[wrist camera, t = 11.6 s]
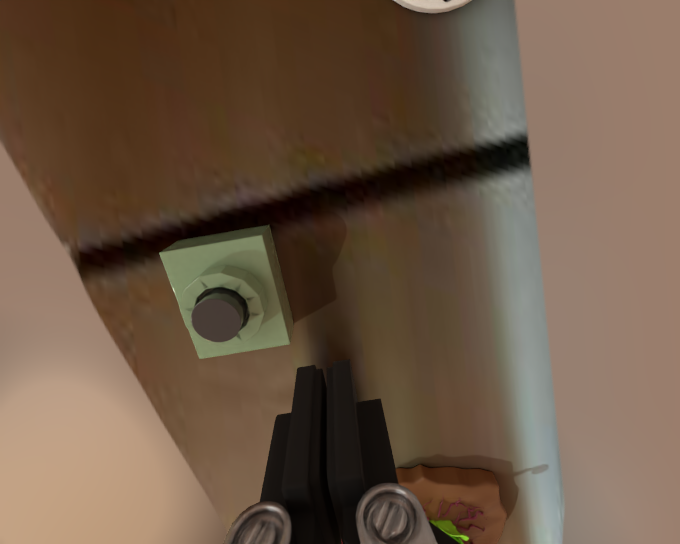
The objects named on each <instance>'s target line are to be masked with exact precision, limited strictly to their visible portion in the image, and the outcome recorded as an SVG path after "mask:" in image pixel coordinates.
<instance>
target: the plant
mask: <svg viewBox="0 0 680 544" xmlns="http://www.w3.org/2000/svg"><path fill="white" fill-rule="evenodd" d="M396 474H397V478H398V483H399V484H400V485H402V486H404V487H406V488H408V489H409V490H410V491H411V492H412V493H413V494H414V495H416V497H417V499H418V500H419V502H420V504H421V505H422V508H423V510H424V512H425V515H426V517H427V520H428V521H429V522H431V523H432V524H434V525H435V526H436V527H438V528H439V529H441V530H442V531H443V532H445V533H446V534H448V535H449V536H451V537H452V538H453V539H455V540H456V541H458V542H459V543H460V544H496V543H497V542H498V540H499V538H500V537H501V535H502V532H503V527H504V524H505V520H506V517H507V512H506V510H505V508H504V506H503V504H502V502H501V500H500V496H499V485H498V483H497V481H496V479H495V477H494V474H493V472H492V471H486V470H482V469H460V468H456V467H438V468H428V467H424V466H422V465H420V464H419V465H417V466H416V467H414V468H410V469H405V468H397V469H396Z"/></svg>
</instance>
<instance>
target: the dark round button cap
mask: <svg viewBox="0 0 680 544" xmlns="http://www.w3.org/2000/svg"><path fill="white" fill-rule="evenodd" d="M246 314H247V309H246V305H245V303H244V301H243V299H242V298H241V297H240V296H239V295H238V294H236V293H235V292H233V291H231V290H227V289H214V290H211V291H209V292H208V293H206V294H205V295H204V296H203V297H202V299H201V300H200V301H199V302H198V303H197V305H196V306H195V307H194V308H193V310H192V313H191V323H192V326H193V328H194V330H195V331H196V332H197V334H199V335H200V336H201V337H202V338H204V339H206V340H208V341H212V342H225V341H228V340H231V339H232V338H234V337H235V336H236V335H237V334H238V332H239V331H240V329H241V327H242V324H243V322H244V320H245V318H246Z"/></svg>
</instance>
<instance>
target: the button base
mask: <svg viewBox="0 0 680 544" xmlns="http://www.w3.org/2000/svg"><path fill="white" fill-rule="evenodd" d="M159 254H160V256H161V259H162V262H163V264H164V267H165V269H166V272H167V275H168V277H169V280H170V283H171V285H172V288H173V290H174V293H175V296H176V298H177V301H178V304H179V306H180V312H181V314H182V317H183V319H184V322H185V325H186V327H187V328H188V330H189V333H190V335H191V338H192V340H193V343H194V346H195V348H196V351H197V354H198V356H199V359H203V358H209V357H215V356H221V355H227V354H234V353H240V352H246V351H252V350H258V349H264V348H270V347H276V346H282V345H288V344H290V342H291V337H292V331H293V326H294V322H293V318H292V314H291V309H290V305H289V301H288V297H287V293H286V289H285V285H284V281H283V277H282V273H281V269H280V265H279V261H278V257H277V253H276V249H275V245H274V241H273V236H272V232H271V228H270V225H266V226H260V227H254V228H249V229H243V230H237V231H231V232H225V233H220V234H214V235H208V236H202V237H197V238H191V239H185V240H179V241H177V242H176V243H174V244H173V245H171V246H170V247H168V248H166V249H165V250H163V251H162V252H160V253H159ZM214 289H227V290H231V291H233V292H235V293H236V294H238V295H239V296H240V297H241V298H242V299H243V301H244V303H245V305H246V309H247V314H246V318H245V320H244V322H243V324H242V327H241V329H240V331H239V332H238V334H237V335H236V336H235V337H234V338H232V339H231V340H228V341H225V342H212V341H208V340H206V339H204V338H202V337H201V336H200V335H199V334H197V332H196V331H195V330H194V328H193V326H192V323H191V313H192V310H193V308H194V307H195V306H196V305H197V303H198V302H199V301H200V300H201V299H202V297H203V296H204V295H205V294H206V293H208V292H209V291H211V290H214Z"/></svg>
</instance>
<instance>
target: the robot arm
mask: <svg viewBox="0 0 680 544" xmlns="http://www.w3.org/2000/svg"><path fill="white" fill-rule="evenodd" d="M394 1H395V2H397V3H398V4H400V5H401V6H403V7H406V8H408V9H411V10H414V11H417V12H424V13H440V12H448V11H451V10H453V9H456V8H459V7H462V6H464V5H466V4H467V3H469V2H470V1H472V0H447V2H445V1H444V0H394ZM341 539H342V541H341ZM342 543H343V544H460V543H459V542H458V541H456V540H455V539H453V538H452V537H451V536H449V535H448V534H446V533H445V532H443V531H442V530H441V529H439V528H438V527H436V526H435V525H434V524H432V523H431V522H429V521H428V520H427V517H426V515H425V512H424V510H423V508H422V505H421V504H420V502H419V500H418V499H417V497H416V495H414V494H413V493H412V492H411V491H410V490H409V489H408V488H406V487H404V486H402V485H400V484H399V483H398V478H397V474H396V469H395V464H394V459H393V455H392V450H391V445H390V441H389V436H388V431H387V426H386V422H385V417H384V412H383V408H382V403H381V399H375V400H369V401H362V402H358V401H357V396H356V390H355V385H354V379H353V374H352V369H351V363H350V359H349V360H343V361H337V362H333V367H329V368H327V387H326V382H325V378H324V374H323V370H322V369H316V366H315V365H312V366H306V367H300V368H298V369H297V375H296V382H295V390H294V397H293V405H292V412H291V413H287V414H280V415H277V417H276V420H275V424H274V430H273V435H272V440H271V445H270V451H269V456H268V461H267V466H266V472H265V477H264V482H263V488H262V493H261V498H260V502H259V503H256V504H254V505H252V506H250V507H248V508H247V509H246V510H245V511H243V512H242V513H241V514H240V515H239V516H238V517H237V518H236V520H235V521H234V522H233V523H232V525H231V527H230V529H229V531H228V533H227V535H226V538H225V540H224V543H223V544H342Z"/></svg>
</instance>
